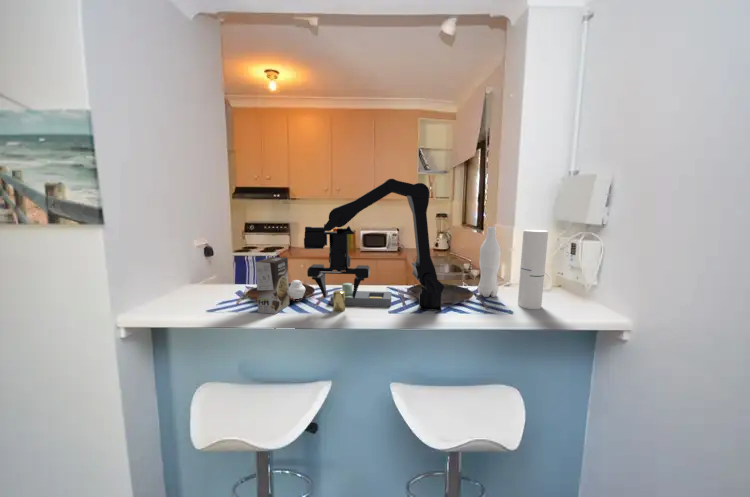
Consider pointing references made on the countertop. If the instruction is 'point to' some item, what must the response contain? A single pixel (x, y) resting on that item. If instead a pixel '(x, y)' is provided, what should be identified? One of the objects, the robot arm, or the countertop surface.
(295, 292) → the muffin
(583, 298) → the countertop surface
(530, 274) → the cylindrical container
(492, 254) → the water bottle
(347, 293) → the sage plug
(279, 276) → the coffee box
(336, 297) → the brass plug
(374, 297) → the panel
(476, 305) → the countertop surface
